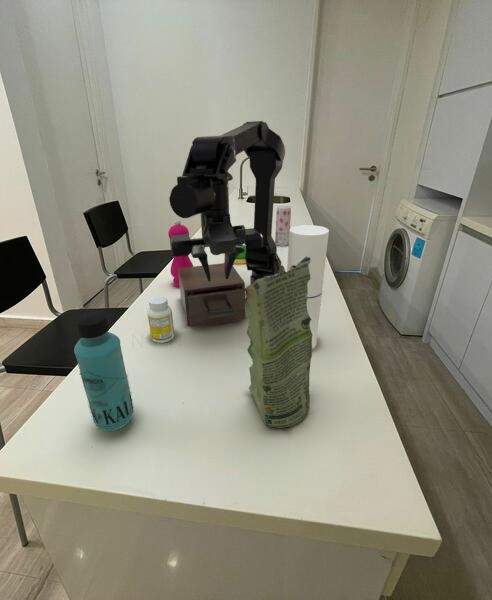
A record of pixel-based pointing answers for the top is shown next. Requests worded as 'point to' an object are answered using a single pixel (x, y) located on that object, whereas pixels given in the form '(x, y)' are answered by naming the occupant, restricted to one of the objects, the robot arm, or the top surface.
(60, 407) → the top surface
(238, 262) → the dish sponge
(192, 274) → the cabinet
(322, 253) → the cylindrical container
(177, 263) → the pepper mill
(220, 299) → the drawer
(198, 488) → the top surface
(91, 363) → the beverage bottle
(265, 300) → the pouch
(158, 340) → the supplement bottle
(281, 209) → the beverage can
